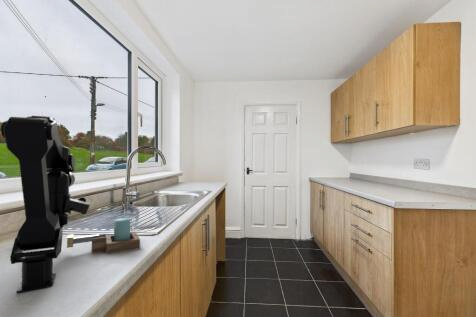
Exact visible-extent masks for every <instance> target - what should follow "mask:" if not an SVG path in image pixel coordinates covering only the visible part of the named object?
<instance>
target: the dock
mask: <svg viewBox="0 0 476 317" xmlns="http://www.w3.org/2000/svg"><path fill="white" fill-rule="evenodd" d="M140 248H141V239H140V237H139V235H138V234H137V232H136V231H130V239H129V240H122V241H115V242H114V234H108V235H107V233H100V234H99V237H97V238H92V241H91V254H94V253H101V252H106V255H107V254H112V253H120V252H125V251H131V250H132V251H133V250H137V249H140Z"/></svg>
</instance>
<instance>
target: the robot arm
mask: <svg viewBox="0 0 476 317" xmlns="http://www.w3.org/2000/svg"><path fill="white" fill-rule="evenodd" d="M1 123H2V124H1V127H0V132H1V136H2V138H3V139H4V141H5V146H6V148H7V150H8V151H9V152H10V153H11V154H12V155H13V156H14V157H15V158H17V160H18V164H19V173H20V182H21V189H22V190H21V191H22V197H23V199H22V200H23V207H24V213H25V216H24V217H25V219H24V220H25V221H24V222H23V223H22V225H21V226H20V228H19V229H18V231H17V234H16V235H17V236H16V237H15V238H14V241H13V245H12V250H11V253H10V257H9V258H10V259H9V261H10V264H11V265H14V264H18V263H21V282H20V283H19V285H18V287H17V289H16V292H15V293H16V294H18V293H24V292H29V291H33V290H38V289H44V288H48V287H52V286H54V284H55V283H54V282H55V279H56V276H57V273H53V270H54V268H53V267H54V266H53V263H54V262H53V261H54V259H55V260H56V259H58V257H59V256H60V254H61V252H62V246H63V245H62V244H63V236H64V235H63V234H64V232H63V229H64V226H66V225H68V223H69V221H70V218H71V217H70V216H69V215H70V214H71V213H72V212H76V213H80V214H81V215H87V212H88V211H89V208H90V206H91V202H89V201H87V199H86V197H84V196H80V197H79V198H78V199H77V198H71V197H72V196H71V195H72V194H70V187H72V186H73V185H74V184H75V181H76V177H75V175H74V172H76V164H75V157H74V154H72V152H71V150H70V148H69V147H66V146H64V145H63V144H62V141H61V138H60V136H59V134H58V121H56V119H55V117H52V116H46V115H45V116H44V115H31V116H27V117H22V116H21V117H20V116H10V117H9V118H8V120H5V121H3V122H1Z"/></svg>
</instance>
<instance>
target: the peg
mask: <svg viewBox="0 0 476 317" xmlns="http://www.w3.org/2000/svg"><path fill="white" fill-rule="evenodd" d="M113 228H114V229H113V235H114V242H115V241H122V240H129V239H130V232H131V218H129V217H127V218H125V217H124V218H123V217H122V218H117V219H114V221H113Z"/></svg>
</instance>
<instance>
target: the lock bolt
mask: <svg viewBox="0 0 476 317" xmlns="http://www.w3.org/2000/svg"><path fill="white" fill-rule="evenodd" d="M99 235H100V234H98V233H97V234H90V235H83V236H82V235H80V236H76V237H75V235H74V234H68V235H67V237H66V248H73V247H74V244H75V245H76V244H82V243H90V242H91V243H92V238H97V237H99Z"/></svg>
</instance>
